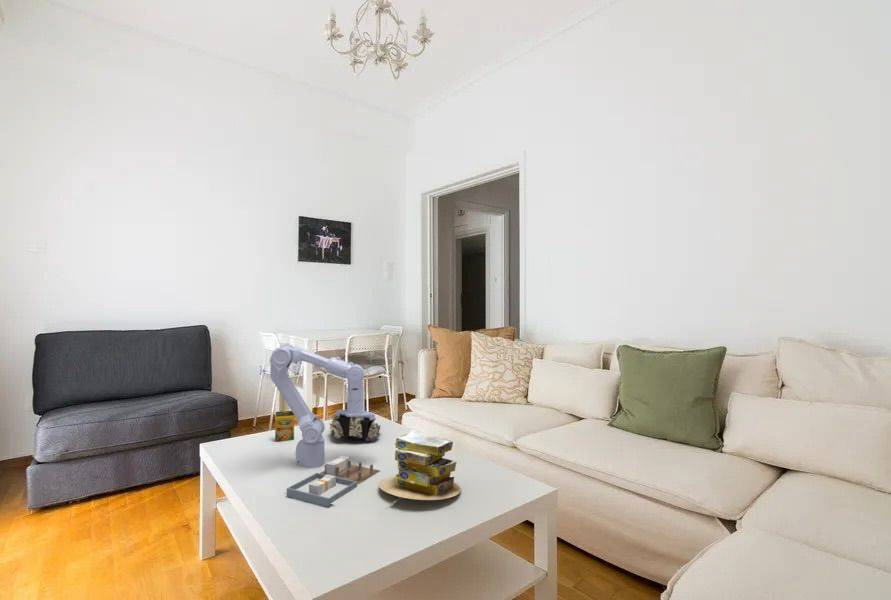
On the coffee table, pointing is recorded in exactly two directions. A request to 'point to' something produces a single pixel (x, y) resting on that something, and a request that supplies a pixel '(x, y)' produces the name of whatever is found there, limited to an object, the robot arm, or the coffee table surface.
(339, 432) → the decorative rock
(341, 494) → the tray
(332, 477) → the marked fuse
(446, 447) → the stacked boxes on plate
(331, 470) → the block
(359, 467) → the board
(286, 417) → the crayon box
